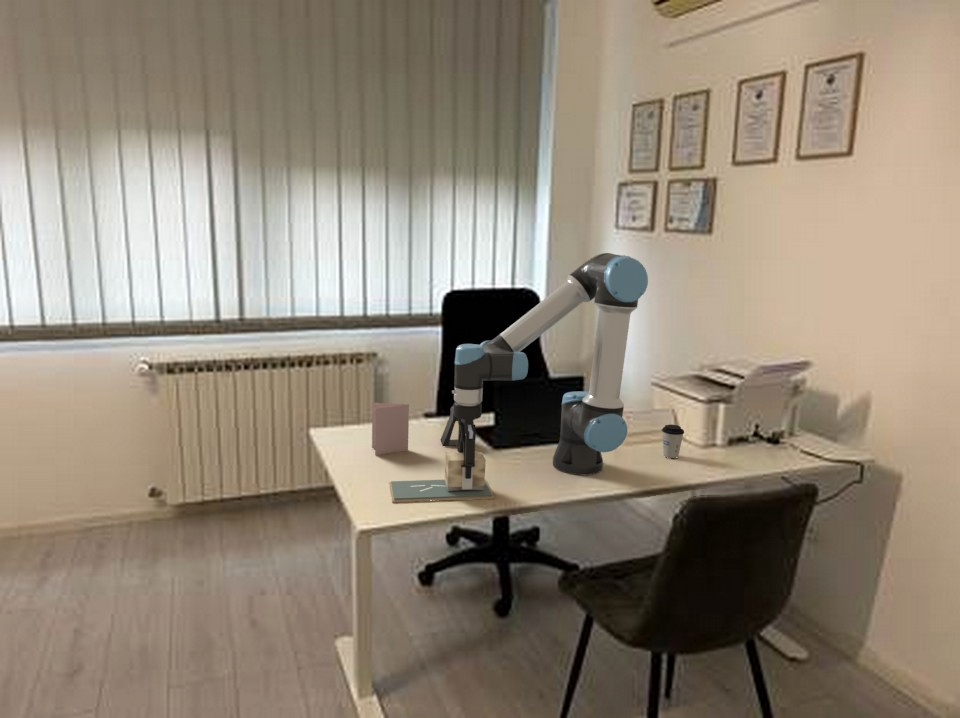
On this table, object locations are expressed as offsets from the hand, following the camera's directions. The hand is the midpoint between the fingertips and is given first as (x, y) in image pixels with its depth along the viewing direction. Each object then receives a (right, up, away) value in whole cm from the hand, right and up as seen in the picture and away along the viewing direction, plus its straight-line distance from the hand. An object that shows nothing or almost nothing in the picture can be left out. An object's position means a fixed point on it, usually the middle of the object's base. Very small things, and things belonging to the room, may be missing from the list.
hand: (464, 483), depth 201 cm
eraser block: (0, -1, 0) cm, 1 cm away
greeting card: (-24, +5, +29) cm, 38 cm away
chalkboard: (-7, -2, -1) cm, 7 cm away
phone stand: (-4, +6, +40) cm, 40 cm away
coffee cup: (+65, +3, +35) cm, 74 cm away
